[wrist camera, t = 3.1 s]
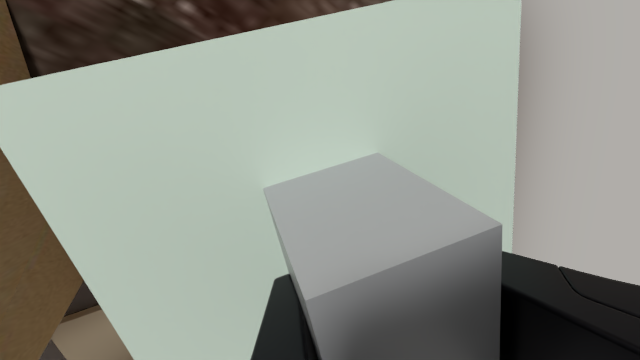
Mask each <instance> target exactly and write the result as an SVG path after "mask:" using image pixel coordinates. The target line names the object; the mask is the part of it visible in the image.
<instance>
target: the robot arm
mask: <svg viewBox="0 0 640 360" xmlns="http://www.w3.org/2000/svg"><path fill="white" fill-rule="evenodd" d="M250 360H318V358H317V355H316V351H315V348H314V345H313V342H312V338H311V335H310V332H309V328H308V325H307V322H306V318H305V315H304V312H303V309H302V306H301V303H300V300H299V297H298V295H297V292H296V289H295V286H294V284H293V281H292V278H291V275H290V274H286V275H283V276H280V277H278V278H276V279H275V280H274V282H273V285H272V289H271V292H270V296H269V299H268V302H267V306H266V309H265V312H264V316H263V319H262V322H261V326H260V329H259V332H258V336H257V339H256V342H255V346H254V349H253V353H252V356H251V359H250ZM499 360H640V286H639V285H635V284H630V283H625V282H621V281H616V280H612V279H608V278H604V277H600V276H595V275H592V274H588V273H584V272H580V271H576V270H573V269H569V268H565V267H559V268H558V267H557V266H556V265H554V264H550V263H546V262H542V261H538V260H535V259H531V258H527V257H523V256H520V255H516V254H512V253H508V252H505V251H502V269H501V313H500V357H499Z"/></svg>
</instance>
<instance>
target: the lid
mask: <svg viewBox="0 0 640 360" xmlns="http://www.w3.org/2000/svg"><path fill="white" fill-rule="evenodd" d="M520 26H521V0H394V1H390V2H385V3H380V4H376V5H371V6H366V7H362V8H357V9H352V10H348V11H343V12H338V13H334V14H329V15H324V16H320V17H315V18H311V19H306V20H301V21H297V22H292V23H287V24H283V25H278V26H273V27H269V28H264V29H259V30H255V31H250V32H245V33H241V34H236V35H231V36H227V37H222V38H217V39H213V40H208V41H203V42H199V43H194V44H189V45H185V46H180V47H175V48H171V49H166V50H161V51H157V52H152V53H147V54H143V55H138V56H133V57H129V58H124V59H119V60H115V61H110V62H105V63H101V64H96V65H91V66H87V67H82V68H77V69H73V70H68V71H63V72H59V73H54V74H49V75H45V76H40V77H36V78H31V79H26V80H22V81H17V82H12V83H8V84H3V85H0V148H1V149H2V151H3V153H4V154H5V156H6V157H7V159H8V161H9V162H10V164H11V165H12V167H13V169H14V170H15V172H16V173H17V175H18V176H19V178H20V180H21V181H22V183H23V184H24V186H25V188H26V189H27V191H28V192H29V194H30V195H31V197H32V199H33V200H34V202H35V203H36V205H37V207H38V208H39V210H40V211H41V213H42V215H43V216H44V218H45V219H46V221H47V222H48V224H49V226H50V227H51V229H52V230H53V232H54V234H55V235H56V237H57V238H58V240H59V241H60V243H61V245H62V246H63V248H64V249H65V251H66V253H67V254H68V256H69V257H70V259H71V261H72V262H73V264H74V265H75V267H76V268H77V270H78V272H79V273H80V275H81V276H82V278H83V280H84V281H85V283H86V284H87V286H88V288H89V289H90V291H91V292H92V294H93V295H94V297H95V299H96V300H97V302H98V303H99V305H100V307H101V308H102V310H103V311H104V313H105V314H106V316H107V318H108V319H109V321H110V322H111V324H112V326H113V327H114V329H115V330H116V332H117V334H118V335H119V337H120V338H121V340H122V341H123V343H124V345H125V346H126V348H127V349H128V351H129V353H130V354H131V356H132V357H133V359H134V360H250V359H251V356H252V353H253V349H254V346H255V342H256V339H257V336H258V332H259V329H260V326H261V322H262V319H263V316H264V312H265V309H266V306H267V302H268V299H269V296H270V292H271V289H272V285H273V282H274V280H275V279H276V278H278V277H280V276H283V275H286V274H290V275H291V278H292V281H293V284H294V286H295V289H296V292H297V295H298V297H299V300H300V303H301V306H302V309H303V312H304V315H305V318H306V322H307V325H308V328H309V332H310V335H311V338H312V342H313V345H314V348H315V351H316V355H317V358H318V360H499V357H500V313H501V269H502V251H505V252H508V253H512V238H513V210H514V185H515V182H514V181H515V158H516V156H515V155H516V132H517V104H518V78H519V50H520Z"/></svg>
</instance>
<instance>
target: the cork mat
mask: <svg viewBox="0 0 640 360" xmlns="http://www.w3.org/2000/svg"><path fill="white" fill-rule="evenodd" d="M51 339H52V341H53V342H54V343H55V345H56V346H57V347H58V349H59V350H60V351H61V353H62V354H63V355H64V357H65V358H66V359H67V360H134V359H133V357H132V356H131V354H130V353H129V351H128V349H127V348H126V346H125V345H124V343H123V341H122V340H121V338H120V337H119V335H118V334H117V332H116V330H115V329H114V327H113V326H112V324H111V322H110V321H109V319H108V318H107V316H106V314H105V313H104V311H103V310H102V308H101V307H100V305H97V306H94V307H91V308H88V309H85V310H83V311H80V312H77V313H74V314H71V315H68V316H65V317H63V318H62V320H61V322H60V324H59V326H58V327H57V329H56V331H55V333H54V334H53V336H52V338H51Z"/></svg>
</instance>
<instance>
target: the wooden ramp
mask: <svg viewBox="0 0 640 360" xmlns="http://www.w3.org/2000/svg"><path fill="white" fill-rule="evenodd" d="M26 79H31V77H30V74H29V71H28V68H27V65H26V62H25V59H24V56H23V53H22V50H21V47H20V44H19V41H18V38H17V35H16V32H15V29H14V26H13V23H12V20H11V17H10V14H9V11H8V8H7V5H6V2H5V0H0V85H3V84H8V83H12V82H17V81H22V80H26ZM83 281H84V280H83V278H82V276H81V275H80V273H79V272H78V270H77V268H76V267H75V265H74V264H73V262H72V261H71V259H70V257H69V256H68V254H67V253H66V251H65V249H64V248H63V246H62V245H61V243H60V241H59V240H58V238H57V237H56V235H55V234H54V232H53V230H52V229H51V227H50V226H49V224H48V222H47V221H46V219H45V218H44V216H43V215H42V213H41V211H40V210H39V208H38V207H37V205H36V203H35V202H34V200H33V199H32V197H31V195H30V194H29V192H28V191H27V189H26V188H25V186H24V184H23V183H22V181H21V180H20V178H19V176H18V175H17V173H16V172H15V170H14V169H13V167H12V165H11V164H10V162H9V161H8V159H7V157H6V156H5V154H4V153H3V151H2V149H1V148H0V360H39V359H40V357H41V356H42V354H43V352H44V350H45V349H46V347H47V345H48V343H49V341H50V340H51V338H52V336H53V334H54V333H55V331H56V329H57V327H58V326H59V324H60V322H61V320H62V318H63V317H64V315H65V313H66V311H67V310H68V308H69V306H70V304H71V302H72V301H73V299H74V297H75V295H76V294H77V292H78V290H79V288H80V286H81V285H82V283H83Z"/></svg>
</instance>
